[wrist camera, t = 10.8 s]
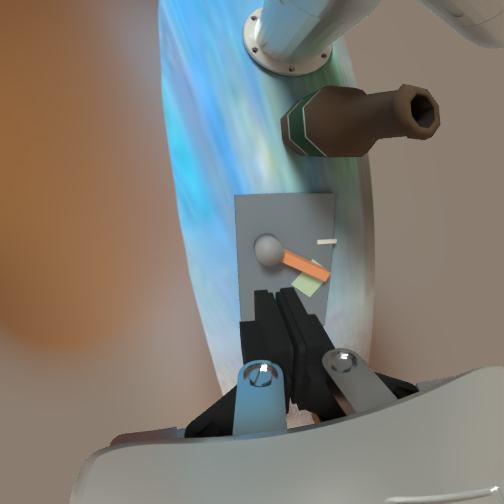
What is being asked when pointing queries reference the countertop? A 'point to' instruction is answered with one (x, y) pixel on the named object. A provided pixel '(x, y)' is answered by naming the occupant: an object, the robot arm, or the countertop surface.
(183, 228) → the countertop surface
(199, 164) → the countertop surface
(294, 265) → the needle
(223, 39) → the countertop surface
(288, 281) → the tuner board
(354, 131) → the beer bottle
